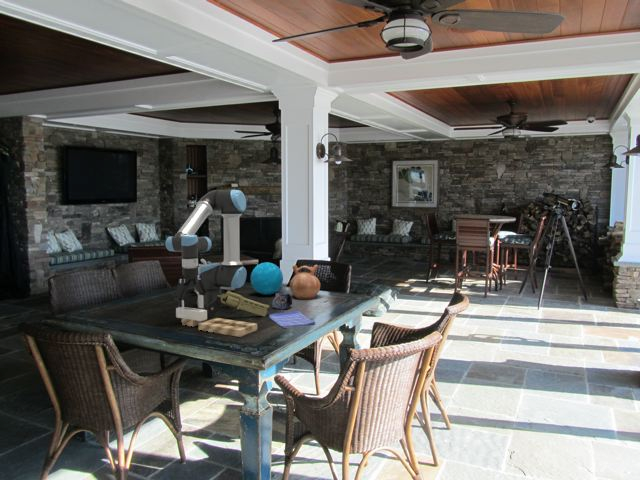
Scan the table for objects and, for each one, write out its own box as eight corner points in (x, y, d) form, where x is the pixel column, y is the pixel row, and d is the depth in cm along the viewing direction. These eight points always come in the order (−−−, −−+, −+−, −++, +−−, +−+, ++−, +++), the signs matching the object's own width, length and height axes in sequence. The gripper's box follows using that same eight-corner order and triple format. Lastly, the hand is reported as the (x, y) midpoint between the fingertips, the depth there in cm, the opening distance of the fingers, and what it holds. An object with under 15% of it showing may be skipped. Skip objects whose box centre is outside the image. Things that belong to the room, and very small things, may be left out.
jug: (322, 294, 327) (322, 262, 325) (317, 300, 309) (317, 267, 307) (293, 293, 330) (293, 262, 328) (286, 299, 313) (286, 266, 311)
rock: (291, 305, 285) (283, 288, 287) (274, 314, 287) (267, 296, 289) (298, 305, 295) (290, 289, 297) (282, 313, 297) (275, 297, 300)
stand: (182, 325, 255) (182, 318, 255) (190, 322, 261) (190, 316, 260) (192, 326, 252) (192, 320, 252) (201, 323, 257) (201, 317, 257)
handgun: (201, 315, 268) (213, 285, 268) (258, 333, 275) (269, 303, 275) (202, 317, 264) (213, 286, 263) (259, 335, 271) (270, 305, 271)
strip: (176, 322, 258) (176, 307, 258) (182, 320, 262) (181, 306, 261) (201, 326, 251) (201, 311, 250) (207, 324, 254) (206, 309, 254)
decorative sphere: (258, 290, 341) (257, 259, 339) (287, 292, 335) (287, 260, 333) (245, 296, 321) (245, 264, 320) (276, 298, 316) (276, 265, 314)
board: (198, 330, 246) (198, 323, 246) (216, 323, 257) (216, 317, 257) (240, 336, 234) (240, 330, 234) (257, 330, 246) (257, 323, 245)
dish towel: (299, 315, 277) (299, 309, 277) (316, 326, 255) (316, 320, 255) (267, 318, 270) (267, 312, 270) (282, 329, 248) (282, 323, 248)
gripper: (177, 271, 241) (178, 317, 243) (213, 264, 263) (214, 306, 265) (165, 270, 245) (166, 315, 247) (201, 263, 266) (202, 304, 268)
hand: (191, 310), depth 256 cm, fingers open, 13 cm apart
